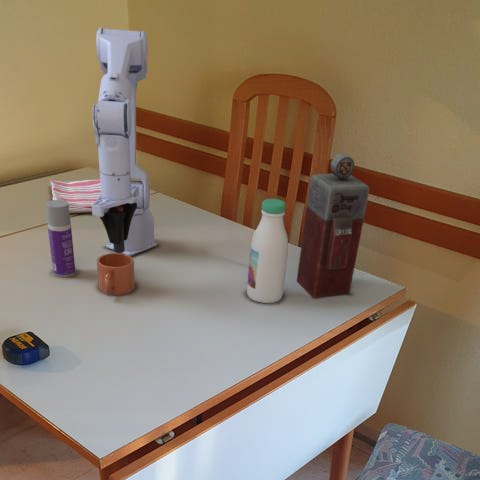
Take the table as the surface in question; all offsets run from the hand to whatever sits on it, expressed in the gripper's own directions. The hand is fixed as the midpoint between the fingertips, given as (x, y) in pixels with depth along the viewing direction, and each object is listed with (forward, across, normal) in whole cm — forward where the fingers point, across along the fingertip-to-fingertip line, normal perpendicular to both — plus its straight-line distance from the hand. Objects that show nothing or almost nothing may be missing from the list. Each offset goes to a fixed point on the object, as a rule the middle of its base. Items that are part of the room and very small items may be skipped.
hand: (118, 241), depth 127 cm
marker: (+2, 0, 0) cm, 2 cm away
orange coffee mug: (+10, -2, 0) cm, 10 cm away
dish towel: (+10, +42, +36) cm, 56 cm away
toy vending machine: (+10, +21, -39) cm, 46 cm away
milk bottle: (+10, +11, -28) cm, 32 cm away
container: (+10, 0, +14) cm, 17 cm away
